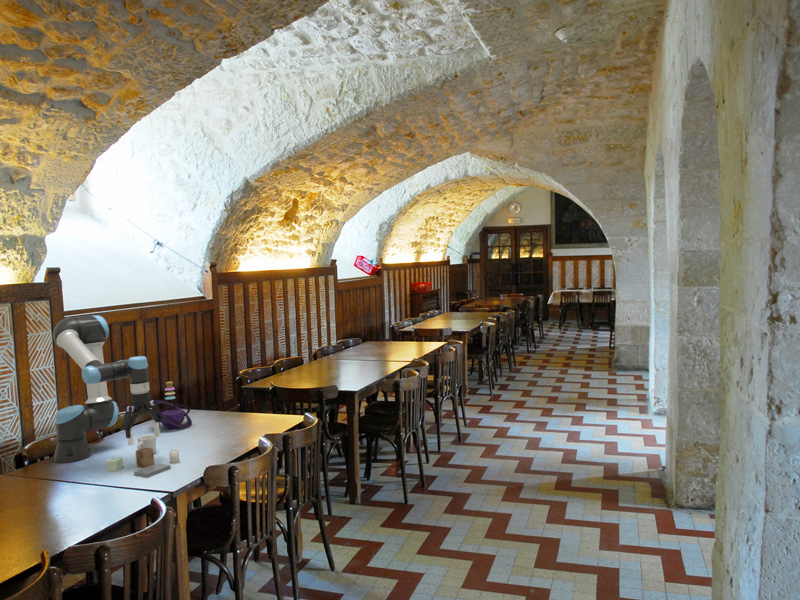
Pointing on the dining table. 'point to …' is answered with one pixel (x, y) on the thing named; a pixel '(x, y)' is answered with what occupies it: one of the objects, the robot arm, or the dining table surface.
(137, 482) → the dining table surface
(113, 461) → the sage cube
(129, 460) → the dining table surface
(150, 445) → the cup
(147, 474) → the slate board
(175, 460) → the stone cylinder
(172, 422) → the decorative bottle
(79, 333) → the robot arm
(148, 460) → the walnut block
